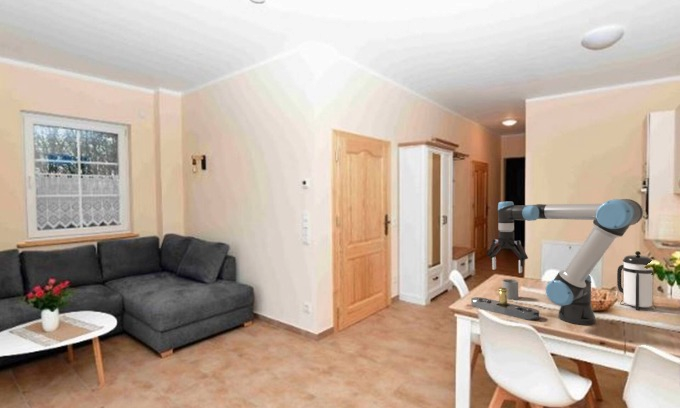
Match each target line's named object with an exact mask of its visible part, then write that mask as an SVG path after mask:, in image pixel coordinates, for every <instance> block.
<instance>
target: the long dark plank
mask: <svg viewBox="0 0 680 408" xmlns="http://www.w3.org/2000/svg"><path fill="white" fill-rule="evenodd" d="M470 299H471V302H470V303H471V304H470V305H472V306H473V307H472V306H471V307H472V308H475V307H476V308H475V309H479V308H480V309H481V310H484V311H487V312H488V311H489V312H493V313H496V314H501V315H504V316H509V317H513V318H517V319H521V320H525V321H531V322H532V321H535V322H536V321H539V320H540V310H538V309H535V308H532V307H527V306H523V305H520V304H519V305H518V304H513V303H509V302H507V307H503V306H499V300H497V299H496V300H495V299H491V298H486V297H480V296H479V297H477V296H476V297H472V298H470Z"/></svg>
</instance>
